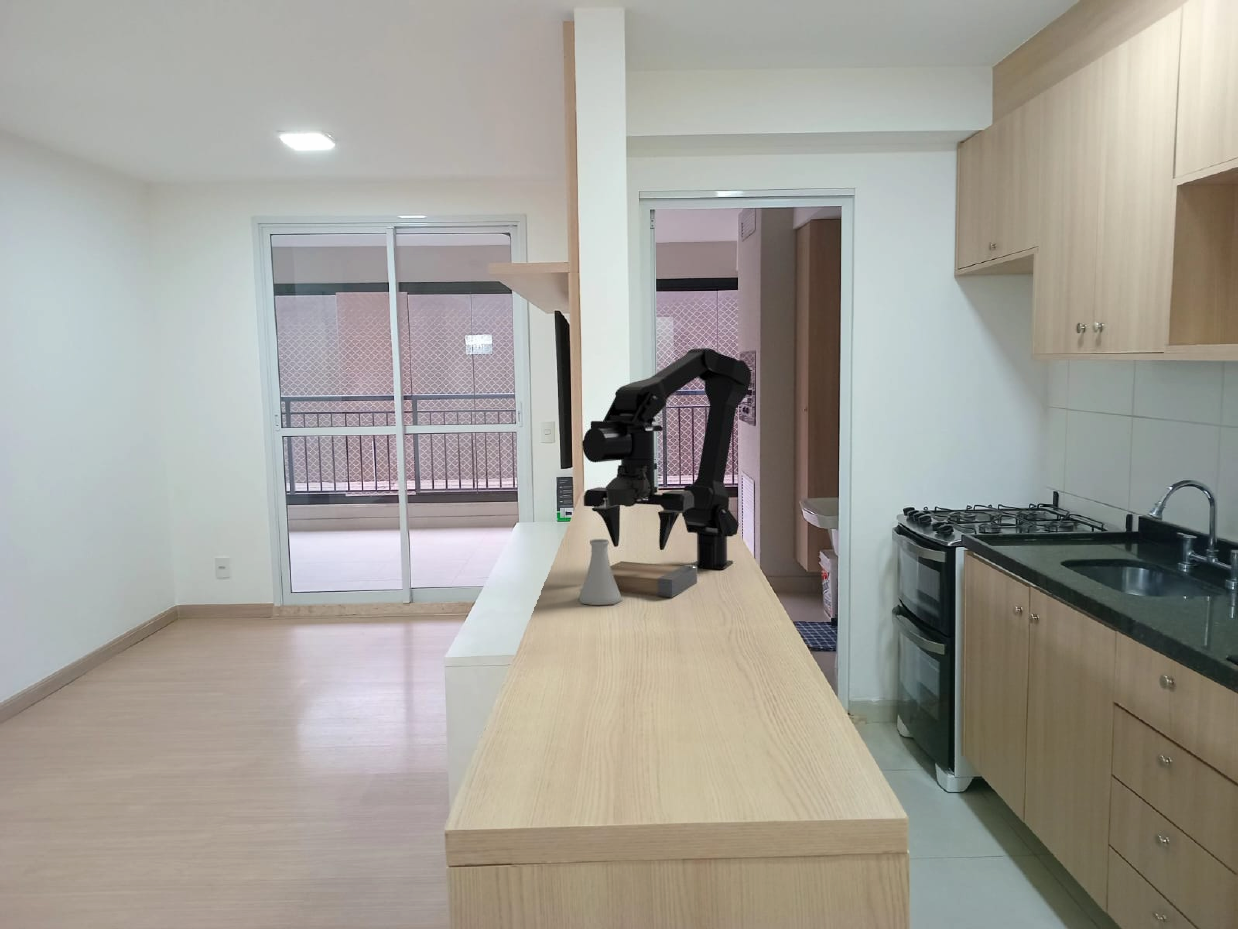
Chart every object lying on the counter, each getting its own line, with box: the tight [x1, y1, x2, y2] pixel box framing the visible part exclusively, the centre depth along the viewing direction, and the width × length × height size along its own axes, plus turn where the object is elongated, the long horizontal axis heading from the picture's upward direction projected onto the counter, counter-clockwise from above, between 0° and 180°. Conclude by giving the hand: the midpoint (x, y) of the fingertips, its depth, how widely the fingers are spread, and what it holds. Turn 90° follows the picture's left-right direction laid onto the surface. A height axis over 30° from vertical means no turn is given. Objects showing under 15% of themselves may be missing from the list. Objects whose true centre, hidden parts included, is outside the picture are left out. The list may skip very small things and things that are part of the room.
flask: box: [578, 538, 623, 606], centre depth 139 cm, size 7×7×10 cm
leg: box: [657, 564, 698, 599], centre depth 146 cm, size 12×2×3 cm, turn 153°
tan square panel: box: [610, 561, 683, 597], centre depth 149 cm, size 11×12×3 cm
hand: (638, 548), depth 149 cm, fingers open, 8 cm apart
